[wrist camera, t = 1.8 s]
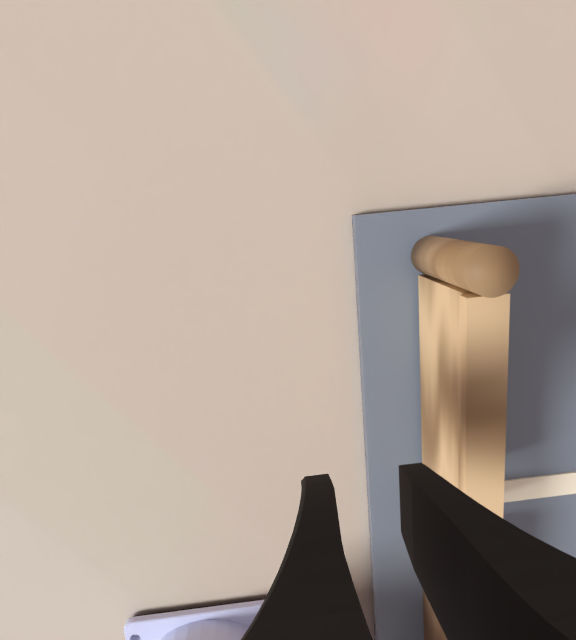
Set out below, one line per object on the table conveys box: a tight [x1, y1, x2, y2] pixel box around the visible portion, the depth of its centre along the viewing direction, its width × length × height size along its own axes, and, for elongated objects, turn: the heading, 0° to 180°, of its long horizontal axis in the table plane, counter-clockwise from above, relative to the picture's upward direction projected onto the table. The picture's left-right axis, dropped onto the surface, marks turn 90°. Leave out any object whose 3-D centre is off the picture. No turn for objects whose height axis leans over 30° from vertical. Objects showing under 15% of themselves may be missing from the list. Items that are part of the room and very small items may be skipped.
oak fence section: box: [411, 236, 519, 518], centre depth 17 cm, size 12×2×5 cm, turn 5°
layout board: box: [352, 194, 576, 640], centre depth 23 cm, size 28×16×1 cm, turn 5°
